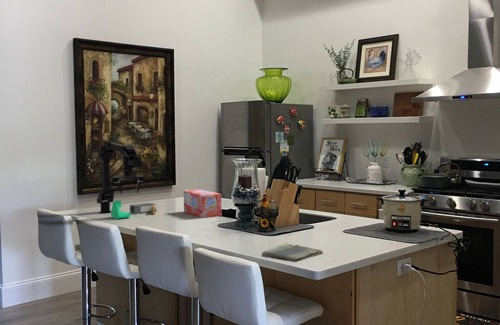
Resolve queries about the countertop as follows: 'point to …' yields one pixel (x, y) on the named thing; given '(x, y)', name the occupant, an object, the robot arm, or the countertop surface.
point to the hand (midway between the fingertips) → (129, 193)
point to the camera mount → (118, 211)
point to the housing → (141, 208)
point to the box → (202, 203)
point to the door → (154, 208)
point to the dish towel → (291, 252)
